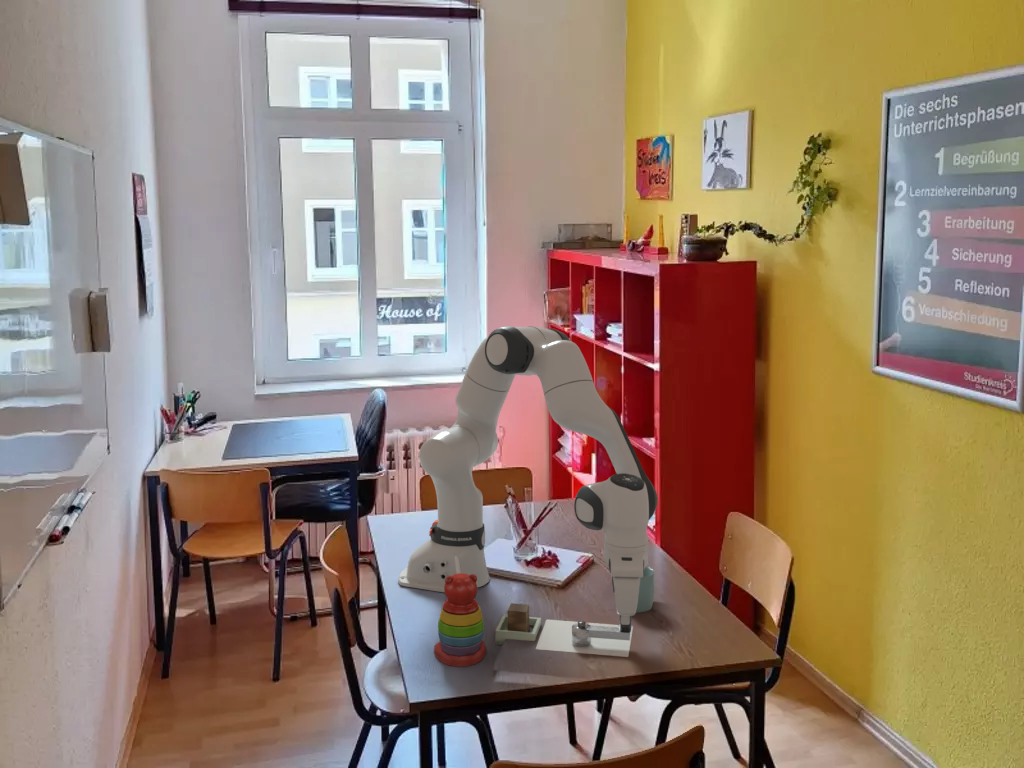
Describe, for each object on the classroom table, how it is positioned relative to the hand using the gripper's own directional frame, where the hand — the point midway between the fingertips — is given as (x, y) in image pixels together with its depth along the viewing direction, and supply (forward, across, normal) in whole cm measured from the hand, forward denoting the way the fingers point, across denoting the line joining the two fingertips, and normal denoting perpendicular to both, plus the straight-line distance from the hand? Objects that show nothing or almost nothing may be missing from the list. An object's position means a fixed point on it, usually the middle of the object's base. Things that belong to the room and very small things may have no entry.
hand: (624, 618), depth 200 cm
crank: (+6, 0, -5) cm, 7 cm away
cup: (+8, -21, +3) cm, 23 cm away
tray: (+8, -6, -22) cm, 24 cm away
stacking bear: (+8, +4, -33) cm, 35 cm away
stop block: (+7, -6, -22) cm, 24 cm away
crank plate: (+8, -4, -8) cm, 12 cm away
